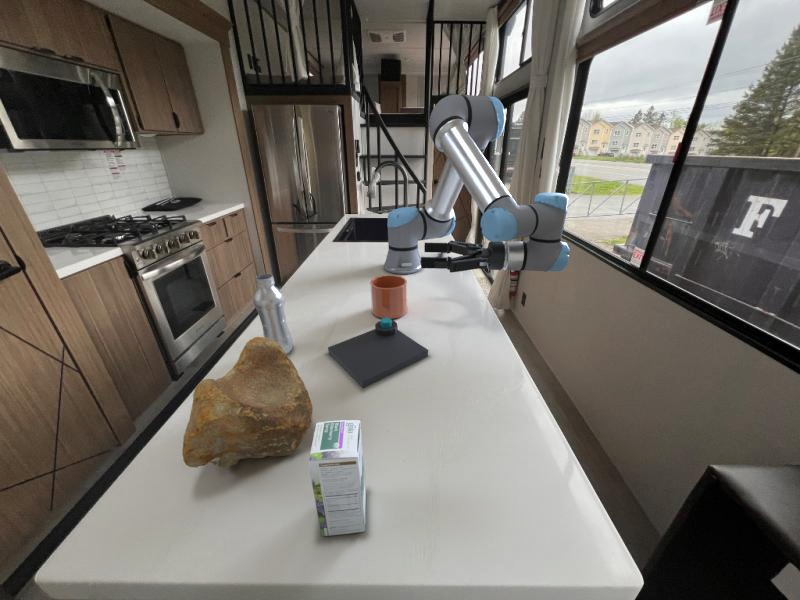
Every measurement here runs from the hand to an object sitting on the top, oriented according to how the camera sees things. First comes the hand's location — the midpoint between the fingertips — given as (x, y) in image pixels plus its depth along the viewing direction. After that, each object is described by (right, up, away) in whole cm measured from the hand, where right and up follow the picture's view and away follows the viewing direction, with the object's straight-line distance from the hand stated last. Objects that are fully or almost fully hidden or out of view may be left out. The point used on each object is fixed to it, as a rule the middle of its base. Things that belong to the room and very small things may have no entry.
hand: (422, 254), depth 88 cm
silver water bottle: (-36, -26, -8) cm, 45 cm away
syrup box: (-14, -42, -43) cm, 62 cm away
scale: (-12, -26, -10) cm, 30 cm away
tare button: (-10, -19, -4) cm, 22 cm away
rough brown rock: (-29, -36, -31) cm, 56 cm away
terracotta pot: (-9, -16, +9) cm, 21 cm away
